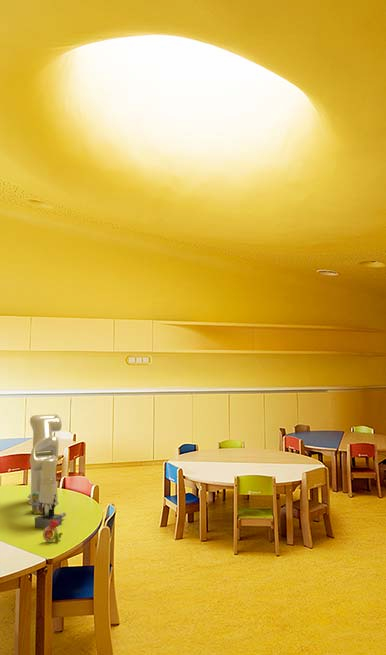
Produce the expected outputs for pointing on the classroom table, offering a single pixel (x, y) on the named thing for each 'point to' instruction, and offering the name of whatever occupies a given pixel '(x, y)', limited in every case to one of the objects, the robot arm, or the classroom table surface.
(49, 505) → the key peg
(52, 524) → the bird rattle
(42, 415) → the robot arm
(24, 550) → the classroom table surface
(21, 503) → the classroom table surface
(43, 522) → the chuck block
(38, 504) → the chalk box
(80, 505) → the classroom table surface
